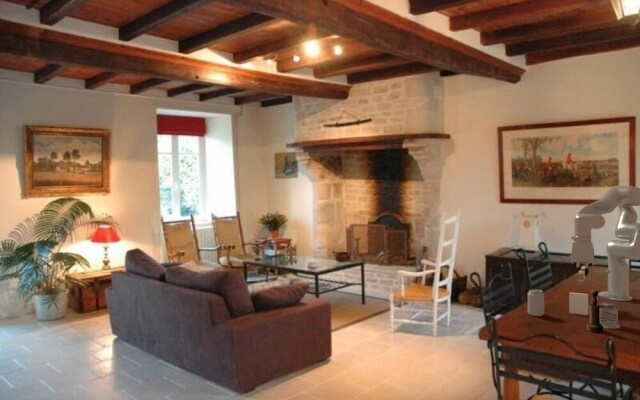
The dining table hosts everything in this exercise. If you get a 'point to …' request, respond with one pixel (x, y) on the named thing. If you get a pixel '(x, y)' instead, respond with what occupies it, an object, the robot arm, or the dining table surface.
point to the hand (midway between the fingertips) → (582, 275)
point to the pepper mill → (594, 314)
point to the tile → (578, 303)
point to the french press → (608, 310)
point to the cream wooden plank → (581, 274)
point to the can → (535, 303)
